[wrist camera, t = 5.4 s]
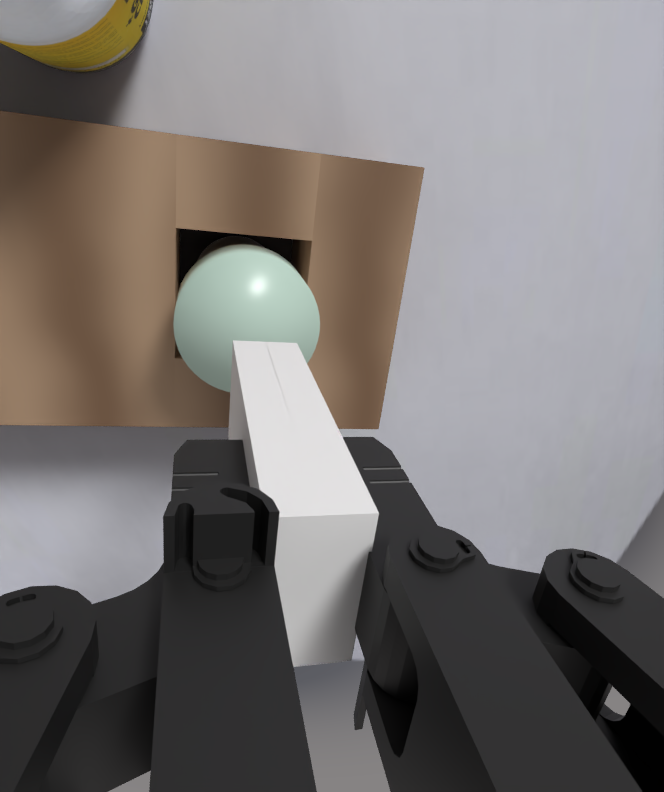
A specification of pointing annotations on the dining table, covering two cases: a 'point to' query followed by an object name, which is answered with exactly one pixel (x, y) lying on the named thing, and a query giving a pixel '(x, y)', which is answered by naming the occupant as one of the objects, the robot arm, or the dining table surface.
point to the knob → (240, 307)
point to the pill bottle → (74, 31)
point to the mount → (160, 267)
